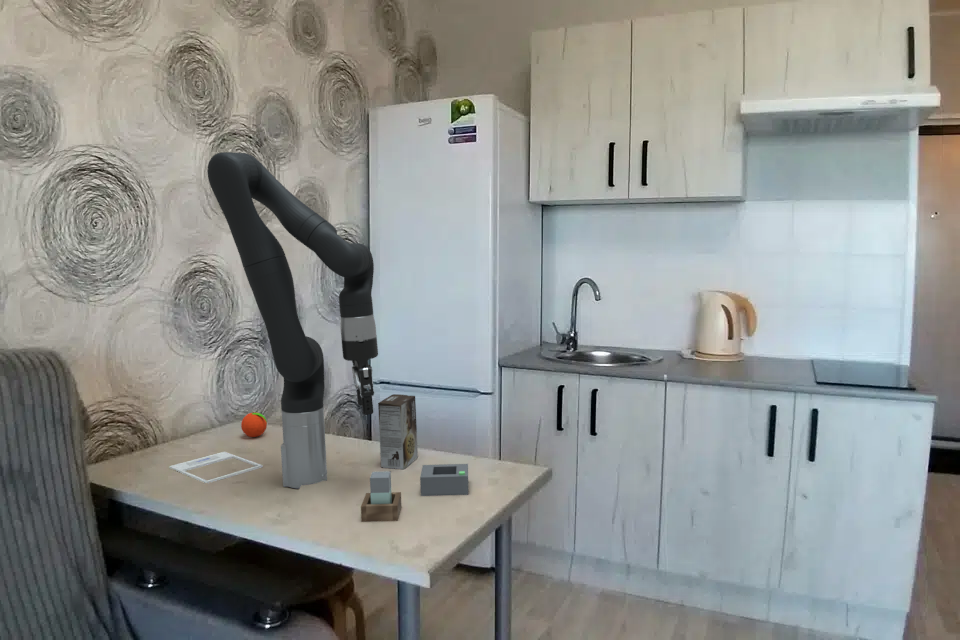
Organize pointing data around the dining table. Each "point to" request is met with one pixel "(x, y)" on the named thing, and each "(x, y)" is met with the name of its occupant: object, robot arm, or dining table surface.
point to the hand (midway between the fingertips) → (365, 409)
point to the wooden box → (381, 509)
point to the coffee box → (398, 431)
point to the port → (444, 479)
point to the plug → (381, 487)
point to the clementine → (254, 424)
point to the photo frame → (210, 460)
